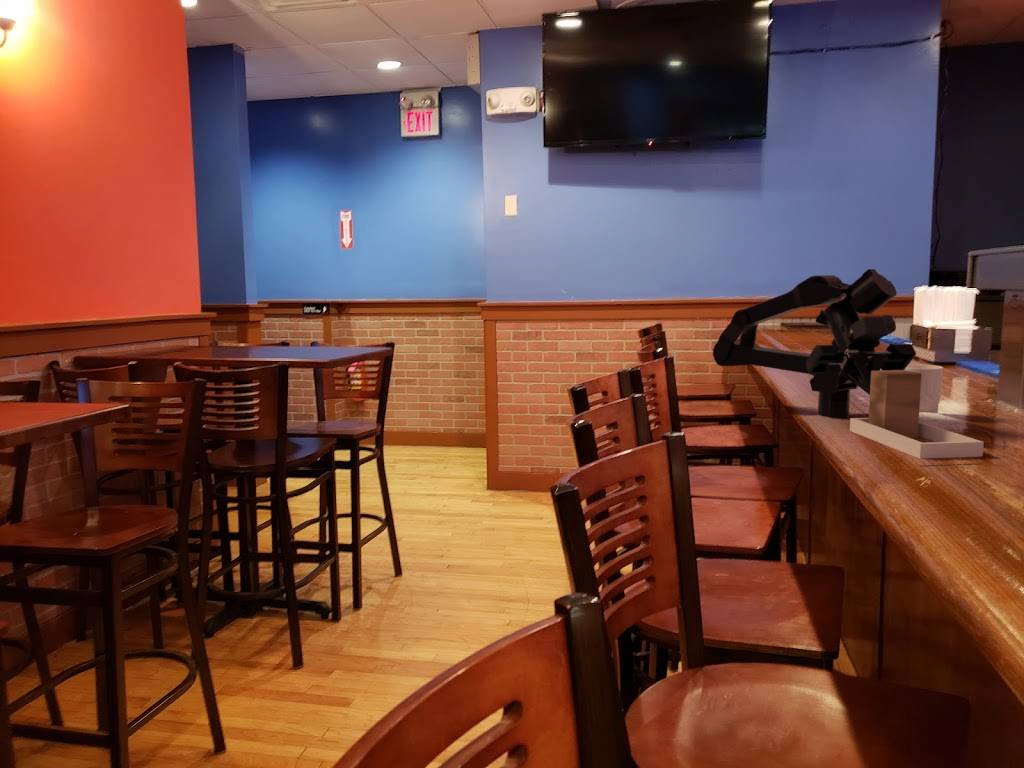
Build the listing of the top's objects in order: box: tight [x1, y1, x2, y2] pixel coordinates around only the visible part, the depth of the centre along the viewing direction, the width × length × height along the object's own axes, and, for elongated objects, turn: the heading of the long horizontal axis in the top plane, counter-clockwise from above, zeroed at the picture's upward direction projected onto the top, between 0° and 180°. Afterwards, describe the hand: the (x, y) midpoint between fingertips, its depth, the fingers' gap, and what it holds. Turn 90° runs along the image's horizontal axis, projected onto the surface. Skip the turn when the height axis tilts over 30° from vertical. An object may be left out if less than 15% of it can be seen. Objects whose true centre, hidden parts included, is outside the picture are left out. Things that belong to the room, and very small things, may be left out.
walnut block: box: [868, 369, 922, 439], centre depth 133 cm, size 5×6×11 cm
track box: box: [849, 417, 985, 468], centre depth 129 cm, size 21×10×4 cm, turn 4°
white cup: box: [904, 363, 944, 414], centre depth 158 cm, size 8×8×10 cm
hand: (875, 395), depth 139 cm, fingers closed
